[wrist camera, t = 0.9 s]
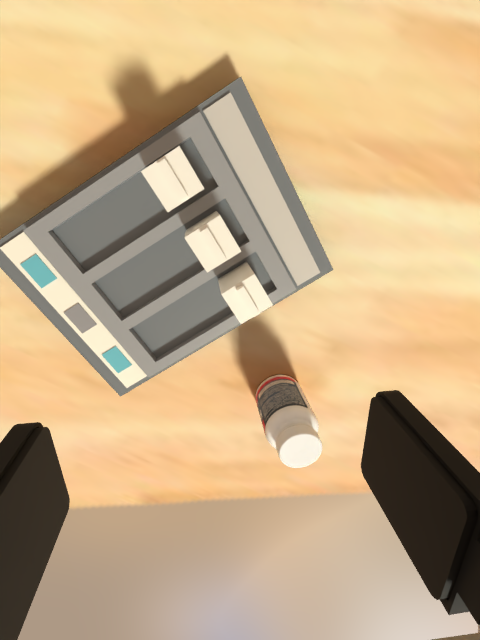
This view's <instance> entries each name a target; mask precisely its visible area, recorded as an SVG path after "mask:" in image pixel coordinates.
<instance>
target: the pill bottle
mask: <svg viewBox="0 0 480 640" xmlns="http://www.w3.org/2000/svg"><path fill="white" fill-rule="evenodd" d="M256 403H257V407H258V410H259V414H260V417H261V421H262V424H263V428H264V432H265V435H266V438H267V440H268V442H269V443H270V444H271V445H272V446H273V447H274V448H276V449H277V452H278V455H279V457H280V459H281V461H282V462H283V463H284V464H285V465H287V466H289V467H293V468H301V467H305V466H308V465H310V464H312V463H313V462H315V461H316V460H317V459H318V457H319V456H320V454H321V452H322V443H321V440H320V438H319V436H318V421H317V418H316V416H315V414H314V412H313V411H312V409H311V407H310V405H309V403H308V401H307V399H306V397H305V395H304V393H303V391H302V389H301V387H300V385H299V384H298V382H297V381H296V380H295V379H293V378H292V377H290V376H287V375H275V376H272V377H269V378H267V379H266V380H264V381H263V382H262V383H261V384H260V386H259V387H258V389H257V391H256Z"/></svg>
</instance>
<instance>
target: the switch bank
mask: <svg viewBox="0 0 480 640" xmlns="http://www.w3.org/2000/svg"><path fill="white" fill-rule="evenodd" d="M178 146H180V148H181V150H182V151H183V153H184V155H185V156H186V158H187V160H188V162H189V163H190V165H191V167H192V168H193V170H194V172H195V173H196V175H197V177H198V179H199V180H200V182H201V184H202V185H203V187H204V189H203V190H202V191H200V192H199V193H197V194H196V195H194V196H193V197H191V198H189V199H188V200H186V201H185V202H183V203H182V204H180V205H179V206H177V207H176V208H174V209H173V210H171V211H169V212H167V211H166V209H165V208H164V206H163V205H162V203H161V201H160V200H159V198H158V197H157V195H156V194H155V192H154V191H153V189H152V188H151V186H150V185H149V183H148V182H147V180H146V179H145V177H144V175H143V174H142V172H141V171H142V170H144V169H145V168H147V167H148V166H150V165H151V164H153V163H154V162H156V161H157V160H159V159H160V158H162V157H163V156H165V155H166V154H168V153H169V152H171V151H172V150H174V149H175V148H177V147H178ZM215 211H217V212H218V213H219V214H220V216H221V218H222V219H223V221H224V223H225V224H226V226H227V228H228V229H229V231H230V233H231V234H232V236H233V238H234V240H235V241H236V243H237V245H238V246H239V248H240V250H241V252H240V253H238V254H236V255H235V256H233V257H232V258H230V259H228V260H227V261H225V262H224V263H222V264H220V265H219V266H217V267H216V268H214V269H212V270H211V271H209V272H206V270H205V269H204V267H203V266H202V264H201V263H200V261H199V260H198V258H197V257H196V255H195V253H194V252H193V250H192V249H191V247H190V246H189V244H188V243H187V241H186V240H185V238H184V237H185V232H186V230H187V229H188V228H190V227H191V226H193V225H195V224H196V223H198V222H199V221H201V220H202V219H204V218H206V217H207V216H209V215H210V214H212V213H213V212H215ZM245 262H247V263H248V265H249V266H250V268H251V269H252V271H253V272H254V274H255V275H256V277H257V279H258V280H259V282H260V284H261V285H262V287H263V289H264V290H265V292H266V294H267V296H268V297H269V299H270V301H271V302H272V304H273V305H275V304H276V303H278V302H280V301H282V300H283V299H285V298H287V297H288V296H290V295H292V294H293V293H295V292H297V291H298V290H300V289H302V288H303V287H305V286H307V285H308V284H310V283H312V282H313V281H315V280H317V279H318V278H320V277H322V276H323V275H325V274H327V273H329V272H330V271H332V270H333V268H332V266H331V264H330V262H329V260H328V258H327V256H326V254H325V251H324V249H323V247H322V245H321V243H320V241H319V239H318V237H317V235H316V233H315V231H314V228H313V226H312V224H311V222H310V220H309V218H308V216H307V214H306V212H305V210H304V208H303V205H302V203H301V201H300V199H299V197H298V195H297V193H296V191H295V189H294V187H293V185H292V183H291V180H290V178H289V176H288V174H287V172H286V170H285V168H284V166H283V164H282V162H281V160H280V157H279V155H278V153H277V151H276V149H275V147H274V145H273V143H272V141H271V139H270V137H269V134H268V132H267V130H266V128H265V126H264V124H263V122H262V120H261V118H260V116H259V114H258V111H257V109H256V107H255V105H254V103H253V101H252V99H251V97H250V95H249V93H248V91H247V89H246V86H245V84H244V82H243V80H242V78H241V77H239V78H238V79H236V80H235V81H233V82H232V83H231V84H229V85H228V86H226V87H225V88H223V89H222V90H220V91H219V92H217V93H216V94H214V95H213V96H211V97H210V98H208V99H207V100H205V101H204V102H202V103H201V104H199V105H198V106H197V107H195V108H194V109H192V110H191V111H189V112H188V113H186V114H185V115H183V116H182V117H180V118H179V119H177V120H176V121H174V122H173V123H171V124H170V125H168V126H167V127H166V128H164V129H163V130H161V131H160V132H158V133H157V134H155V135H154V136H152V137H151V138H149V139H148V140H146V141H145V142H143V143H142V144H140V145H139V146H137V147H136V148H134V149H133V150H132V151H130V152H129V153H127V154H126V155H124V156H123V157H121V158H120V159H118V160H117V161H115V162H114V163H112V164H111V165H109V166H108V167H106V168H105V169H103V170H102V171H101V172H99V173H98V174H96V175H95V176H93V177H92V178H90V179H89V180H87V181H86V182H84V183H83V184H81V185H80V186H78V187H77V188H75V189H74V190H72V191H71V192H69V193H68V194H67V195H65V196H64V197H62V198H61V199H59V200H58V201H56V202H55V203H53V204H52V205H50V206H49V207H47V208H46V209H44V210H43V211H41V212H40V213H38V214H37V215H36V216H34V217H33V218H31V219H30V220H28V221H27V222H25V223H24V224H22V225H21V226H19V227H18V228H16V229H15V230H13V231H12V232H10V233H9V234H7V235H6V236H4V237H3V238H2V239H0V268H1V269H2V270H3V271H4V272H5V273H6V274H7V275H8V276H9V277H10V278H11V279H12V281H13V282H14V283H15V284H16V285H17V286H18V287H19V288H20V289H21V290H22V291H23V292H24V293H25V294H26V296H27V297H28V298H29V299H30V300H31V301H32V302H33V303H34V304H35V305H36V306H37V307H38V308H39V310H40V311H41V312H42V313H43V314H44V315H45V316H46V317H47V318H48V319H49V320H50V321H51V322H52V324H53V325H54V326H55V327H56V328H57V329H58V330H59V331H60V332H61V333H62V334H63V335H64V336H65V337H66V339H67V340H68V341H69V342H70V343H71V344H72V345H73V346H74V347H75V348H76V349H77V350H78V351H79V353H80V354H81V355H82V356H83V357H84V358H85V359H86V360H87V361H88V362H89V363H90V364H91V365H92V366H93V368H94V369H95V370H96V371H97V372H98V373H99V374H100V375H101V376H102V377H103V378H104V379H105V380H106V382H107V383H108V384H109V385H110V386H111V387H112V388H113V389H114V390H115V391H116V392H117V393H118V394H119V395H120V396H122V395H124V394H125V393H127V392H129V391H131V390H132V389H134V388H136V387H137V386H139V385H141V384H142V383H144V382H146V381H147V380H149V379H151V378H152V377H154V376H156V375H157V374H159V373H161V372H162V371H164V370H166V369H167V368H169V367H171V366H172V365H174V364H176V363H177V362H179V361H181V360H183V359H184V358H186V357H188V356H189V355H191V354H193V353H194V352H196V351H198V350H199V349H201V348H203V347H204V346H206V345H208V344H209V343H211V342H213V341H214V340H216V339H218V338H219V337H221V336H223V335H224V334H226V333H228V332H230V331H231V330H233V329H235V328H236V327H238V326H240V325H241V324H240V322H239V321H238V319H237V318H236V316H235V315H234V313H233V312H232V310H231V309H230V307H229V305H228V304H227V302H226V301H225V299H224V298H223V296H222V295H221V291H220V287H219V283H218V279H219V278H220V277H222V276H224V275H225V274H227V273H228V272H230V271H232V270H233V269H235V268H237V267H238V266H240V265H241V264H243V263H245ZM273 305H272V306H273ZM269 308H270V307H269ZM267 309H268V308H267ZM264 311H265V310H264ZM262 312H263V311H262ZM252 318H253V317H252ZM249 320H250V319H249ZM247 321H248V320H247ZM244 323H245V322H244ZM242 324H243V323H242Z"/></svg>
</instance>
